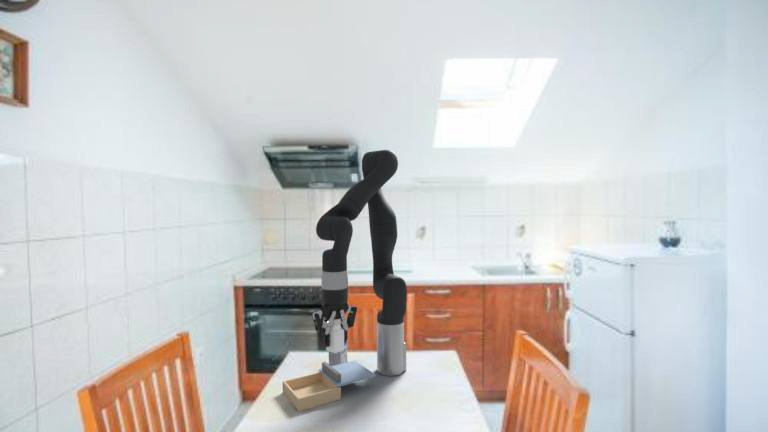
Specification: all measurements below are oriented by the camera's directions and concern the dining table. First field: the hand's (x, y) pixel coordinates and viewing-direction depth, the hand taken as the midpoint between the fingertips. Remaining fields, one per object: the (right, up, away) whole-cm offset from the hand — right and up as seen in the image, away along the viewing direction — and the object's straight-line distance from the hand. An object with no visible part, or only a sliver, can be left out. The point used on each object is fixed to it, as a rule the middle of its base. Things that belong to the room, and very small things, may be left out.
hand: (335, 344), depth 119 cm
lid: (+2, -13, +11) cm, 17 cm away
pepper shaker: (0, -2, 0) cm, 2 cm away
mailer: (-8, -17, +5) cm, 20 cm away
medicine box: (-2, -16, +26) cm, 30 cm away
